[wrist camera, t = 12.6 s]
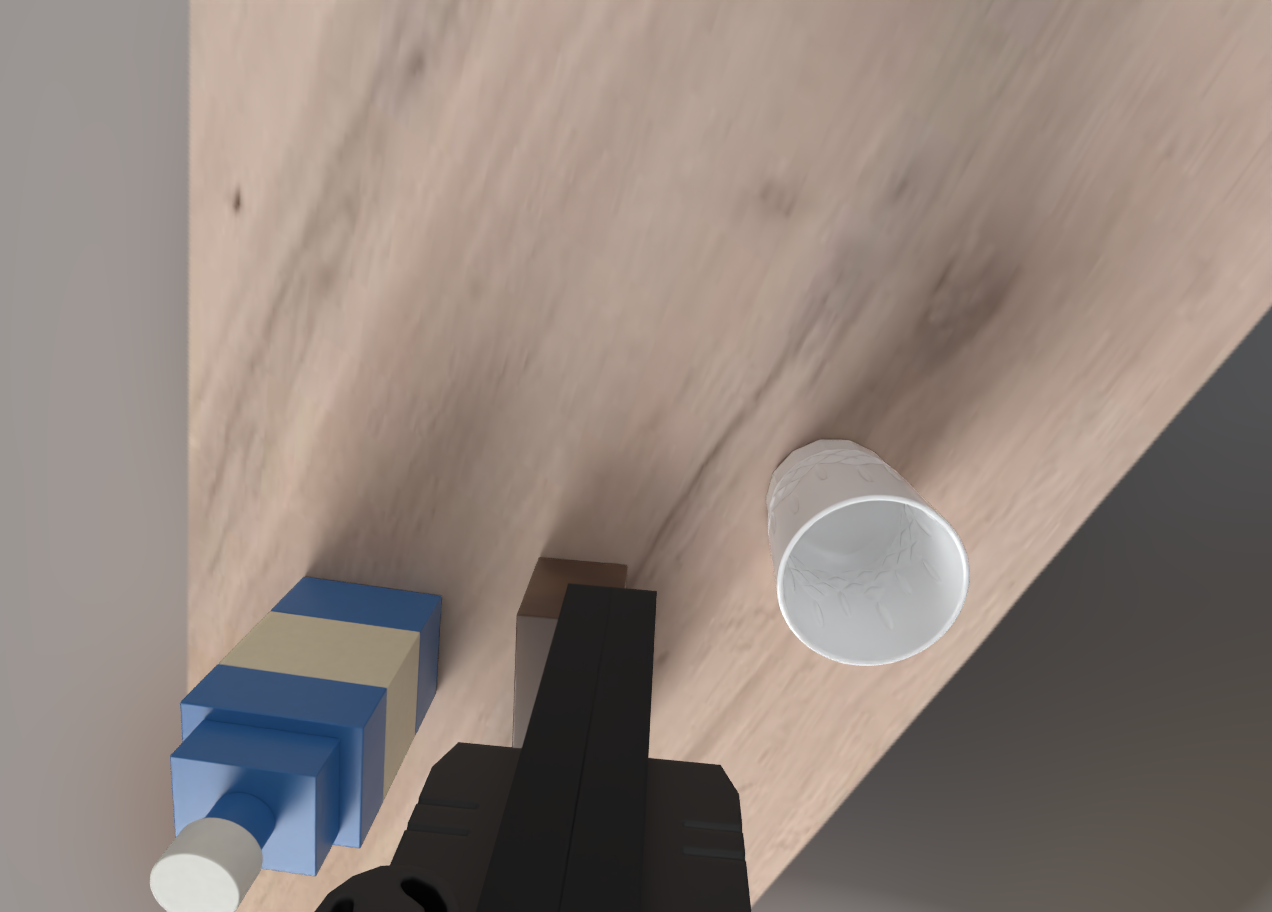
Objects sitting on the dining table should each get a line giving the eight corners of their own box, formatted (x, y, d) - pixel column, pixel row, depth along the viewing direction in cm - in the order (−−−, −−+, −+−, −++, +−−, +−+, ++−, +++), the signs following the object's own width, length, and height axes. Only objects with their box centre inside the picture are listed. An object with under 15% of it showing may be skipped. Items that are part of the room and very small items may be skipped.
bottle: (555, 676, 40) (170, 855, 27) (543, 785, 42) (180, 998, 29) (384, 554, 49) (43, 644, 37) (381, 647, 51) (57, 762, 39)
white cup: (788, 585, 44) (819, 692, 35) (731, 463, 42) (747, 541, 33) (925, 531, 43) (995, 626, 33) (872, 402, 41) (931, 464, 31)
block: (628, 564, 44) (620, 624, 38) (613, 744, 48) (604, 825, 42) (538, 556, 45) (516, 614, 38) (531, 736, 48) (509, 815, 42)
